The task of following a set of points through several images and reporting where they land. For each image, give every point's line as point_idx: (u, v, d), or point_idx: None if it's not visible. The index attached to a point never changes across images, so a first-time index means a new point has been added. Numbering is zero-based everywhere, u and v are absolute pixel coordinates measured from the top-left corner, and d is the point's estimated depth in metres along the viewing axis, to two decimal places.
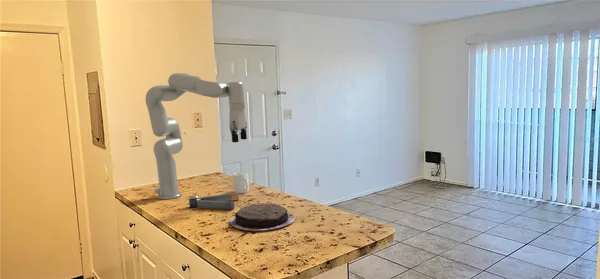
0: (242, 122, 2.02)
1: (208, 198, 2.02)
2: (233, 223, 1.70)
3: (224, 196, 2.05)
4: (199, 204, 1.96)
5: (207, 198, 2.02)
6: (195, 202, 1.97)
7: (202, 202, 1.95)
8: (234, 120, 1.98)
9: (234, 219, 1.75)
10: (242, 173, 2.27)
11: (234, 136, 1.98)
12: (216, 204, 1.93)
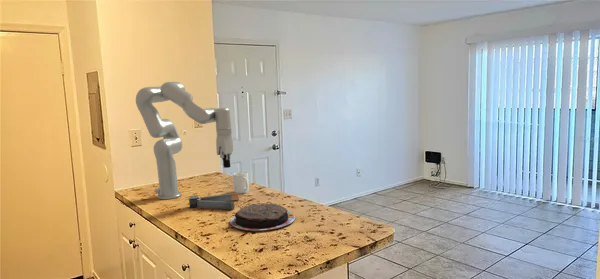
0: (229, 147, 2.07)
1: (208, 198, 2.02)
2: (233, 223, 1.70)
3: (224, 196, 2.05)
4: (199, 204, 1.96)
5: (207, 198, 2.02)
6: (195, 202, 1.97)
7: (202, 202, 1.95)
8: (221, 146, 2.03)
9: (234, 219, 1.75)
10: (242, 173, 2.27)
11: (225, 162, 2.08)
12: (216, 204, 1.93)
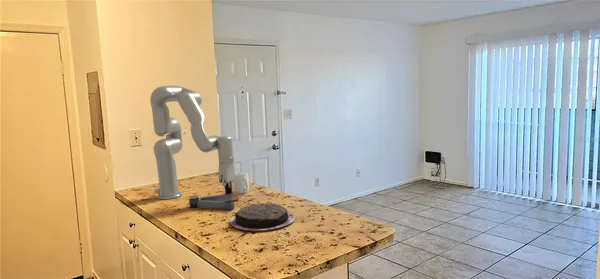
0: (231, 175, 2.09)
1: (208, 198, 2.02)
2: (233, 223, 1.70)
3: (224, 196, 2.05)
4: (199, 204, 1.96)
5: (207, 198, 2.02)
6: (195, 202, 1.97)
7: (202, 202, 1.95)
8: (223, 174, 2.05)
9: (234, 219, 1.75)
10: (242, 173, 2.27)
11: (227, 189, 2.10)
12: (216, 204, 1.93)
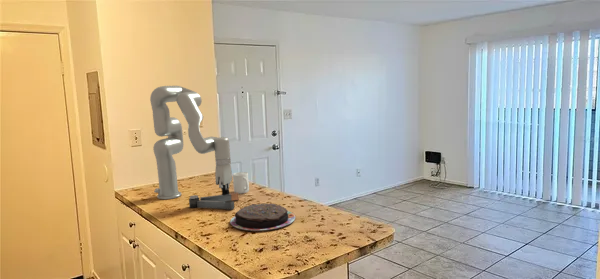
0: (228, 177, 2.06)
1: (208, 198, 2.02)
2: (233, 223, 1.70)
3: (224, 196, 2.05)
4: (199, 204, 1.96)
5: (207, 198, 2.02)
6: (195, 202, 1.97)
7: (202, 202, 1.95)
8: (220, 176, 2.02)
9: (234, 219, 1.75)
10: (242, 173, 2.27)
11: (224, 191, 2.07)
12: (216, 204, 1.93)
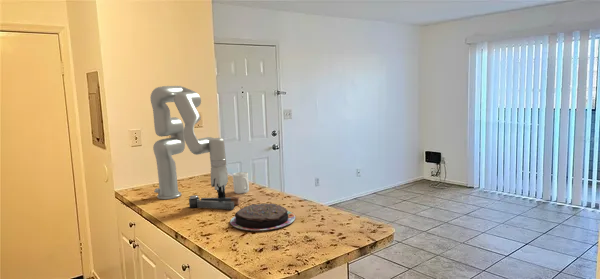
0: (224, 178, 2.00)
1: (208, 199, 2.00)
2: (233, 223, 1.70)
3: (224, 199, 1.99)
4: (199, 204, 1.96)
5: (207, 199, 2.00)
6: (195, 202, 1.97)
7: (202, 202, 1.95)
8: (215, 178, 1.96)
9: (234, 219, 1.75)
10: (242, 173, 2.27)
11: (220, 194, 2.01)
12: (216, 204, 1.93)
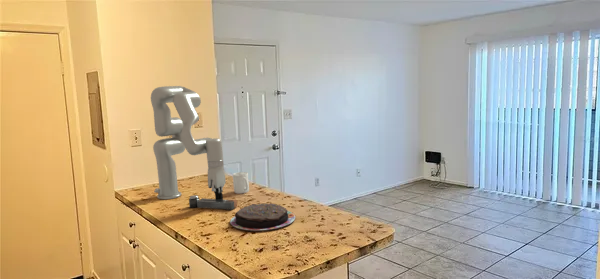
0: (221, 179, 1.97)
1: None
2: (233, 223, 1.70)
3: None
4: (199, 204, 1.96)
5: None
6: (195, 202, 1.97)
7: (202, 202, 1.95)
8: (212, 179, 1.93)
9: (234, 219, 1.75)
10: (242, 173, 2.27)
11: (217, 195, 1.98)
12: (216, 204, 1.93)
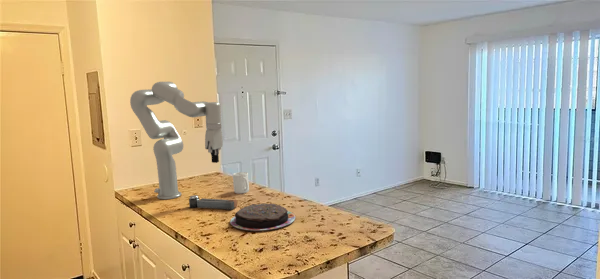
0: (218, 142, 2.05)
1: None
2: (233, 223, 1.70)
3: None
4: (199, 204, 1.96)
5: None
6: (195, 202, 1.97)
7: (202, 202, 1.95)
8: (209, 140, 2.01)
9: (234, 219, 1.75)
10: (242, 173, 2.27)
11: (213, 157, 2.06)
12: (216, 204, 1.93)
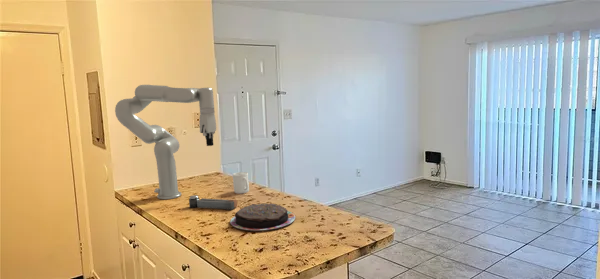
0: (212, 126, 2.14)
1: None
2: (233, 223, 1.70)
3: None
4: (199, 204, 1.96)
5: None
6: (195, 202, 1.97)
7: (202, 202, 1.95)
8: (204, 124, 2.10)
9: (234, 219, 1.75)
10: (242, 173, 2.27)
11: (208, 140, 2.15)
12: (216, 204, 1.93)
